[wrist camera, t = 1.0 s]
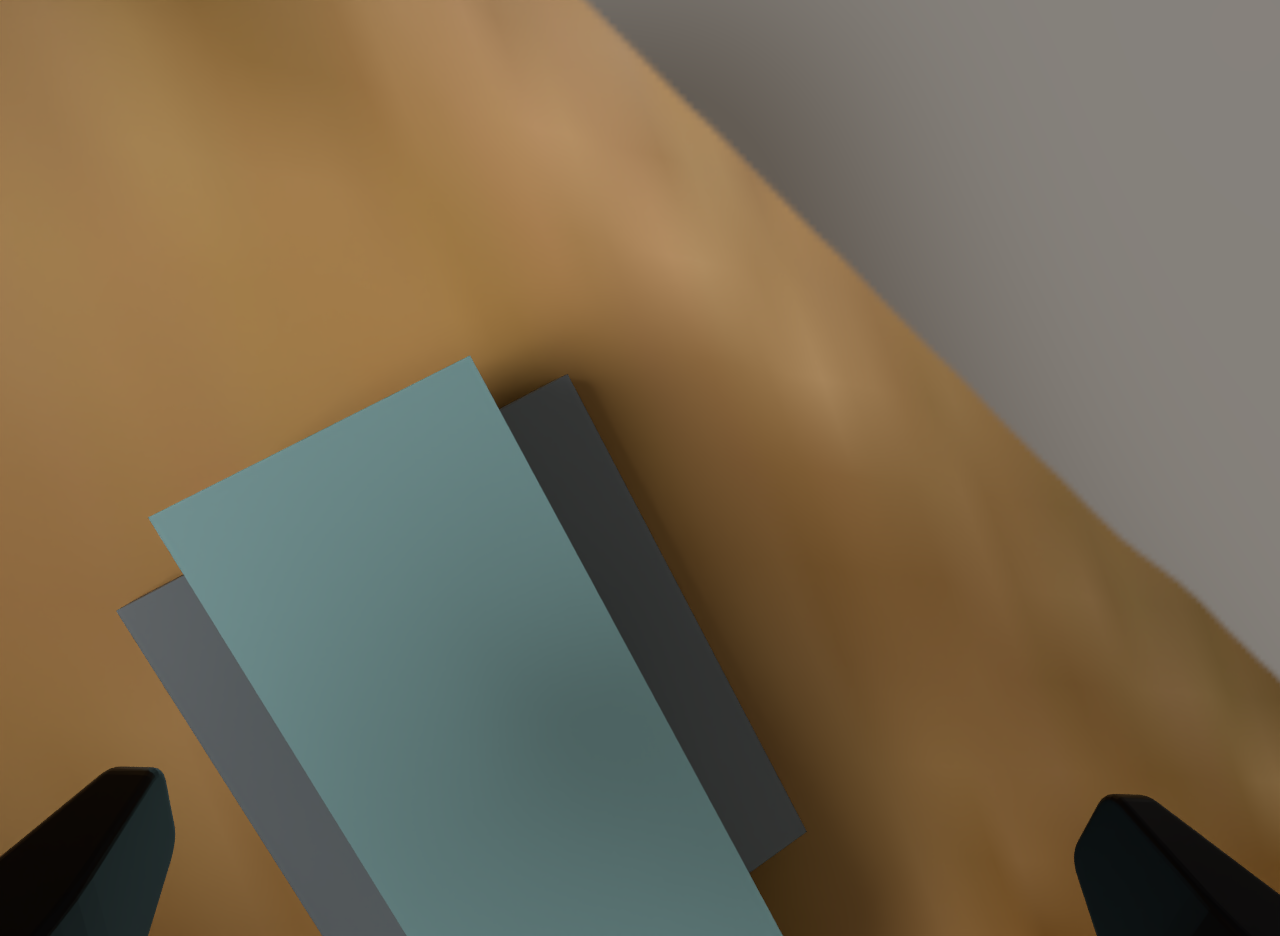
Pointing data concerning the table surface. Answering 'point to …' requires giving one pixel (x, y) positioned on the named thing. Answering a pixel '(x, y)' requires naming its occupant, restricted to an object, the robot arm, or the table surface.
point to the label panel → (633, 597)
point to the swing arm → (458, 680)
